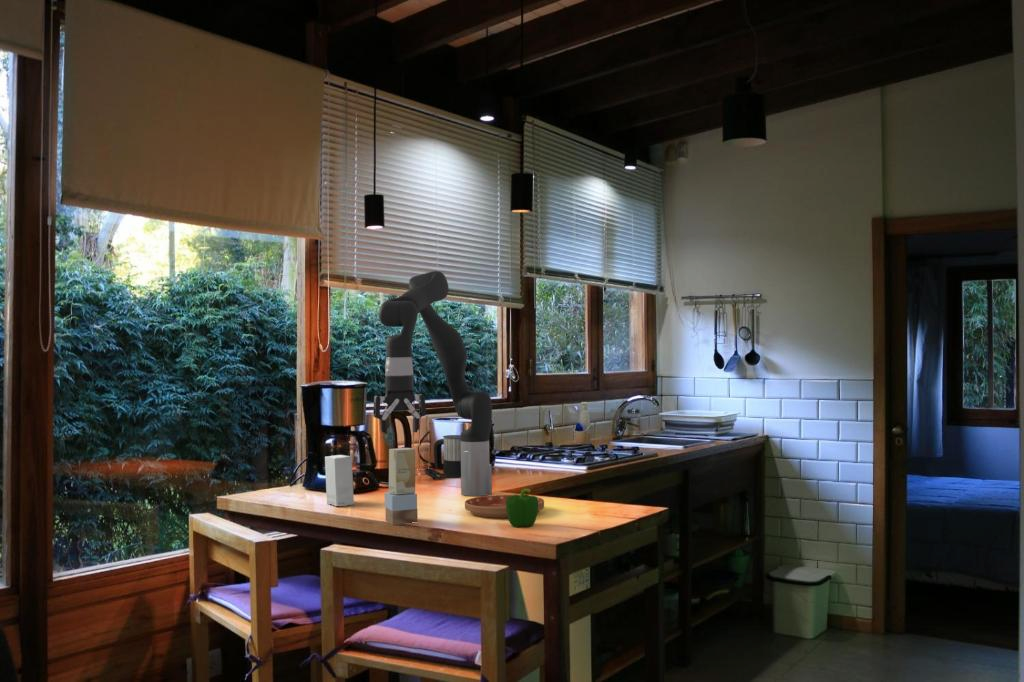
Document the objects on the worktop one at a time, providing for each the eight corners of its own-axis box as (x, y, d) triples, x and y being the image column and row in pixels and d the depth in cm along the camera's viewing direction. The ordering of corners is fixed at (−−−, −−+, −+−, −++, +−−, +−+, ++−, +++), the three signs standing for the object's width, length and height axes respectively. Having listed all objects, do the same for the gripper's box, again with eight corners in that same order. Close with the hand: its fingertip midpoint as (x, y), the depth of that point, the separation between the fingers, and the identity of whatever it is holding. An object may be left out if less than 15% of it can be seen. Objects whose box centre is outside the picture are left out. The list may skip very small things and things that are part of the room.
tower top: (409, 504, 255) (408, 490, 255) (417, 508, 249) (416, 494, 249) (384, 506, 252) (384, 492, 252) (392, 511, 246) (392, 496, 246)
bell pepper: (500, 525, 245) (499, 487, 245) (525, 521, 249) (524, 484, 249) (518, 530, 238) (518, 491, 238) (543, 526, 243) (543, 488, 243)
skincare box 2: (396, 495, 247) (395, 450, 247) (388, 493, 250) (387, 448, 251) (416, 492, 251) (416, 448, 251) (408, 491, 254) (407, 447, 254)
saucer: (449, 512, 266) (449, 499, 266) (513, 503, 279) (513, 491, 279) (494, 524, 247) (494, 510, 247) (560, 514, 261) (560, 501, 261)
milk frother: (471, 475, 338) (471, 434, 338) (458, 481, 322) (458, 439, 322) (435, 474, 341) (434, 434, 341) (420, 480, 326) (420, 438, 326)
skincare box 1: (354, 505, 277) (353, 456, 277) (335, 507, 273) (335, 457, 273) (343, 501, 284) (342, 453, 284) (324, 503, 280) (324, 455, 280)
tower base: (409, 519, 255) (409, 504, 255) (417, 523, 249) (417, 508, 249) (385, 521, 253) (385, 506, 253) (392, 525, 246) (392, 511, 246)
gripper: (420, 372, 257) (421, 430, 257) (370, 374, 251) (371, 433, 251) (428, 373, 250) (429, 432, 250) (377, 375, 244) (377, 435, 244)
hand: (400, 433), depth 251 cm, fingers open, 8 cm apart
